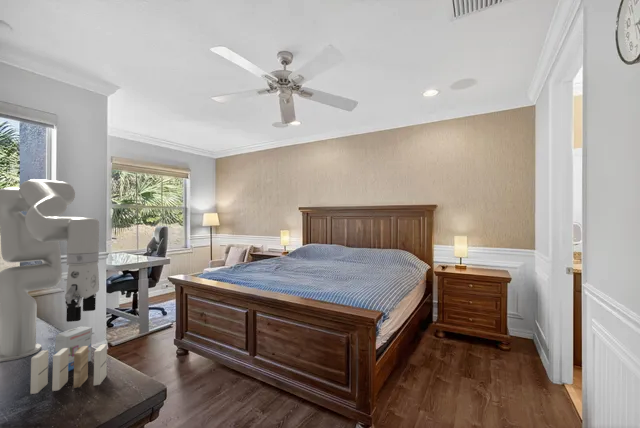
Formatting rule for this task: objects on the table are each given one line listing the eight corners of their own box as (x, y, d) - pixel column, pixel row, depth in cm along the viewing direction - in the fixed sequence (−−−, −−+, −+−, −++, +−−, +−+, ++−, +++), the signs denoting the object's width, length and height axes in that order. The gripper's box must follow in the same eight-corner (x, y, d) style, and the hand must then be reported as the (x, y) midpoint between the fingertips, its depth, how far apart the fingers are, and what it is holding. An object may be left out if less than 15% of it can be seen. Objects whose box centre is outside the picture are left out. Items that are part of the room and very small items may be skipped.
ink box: (66, 373, 94) (67, 335, 94) (53, 371, 95) (54, 334, 95) (91, 360, 103) (92, 326, 103) (80, 359, 104) (80, 325, 104)
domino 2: (52, 391, 84) (53, 355, 85) (61, 381, 89) (62, 348, 89) (59, 390, 85) (59, 355, 85) (67, 381, 90) (68, 347, 90)
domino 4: (93, 385, 88) (94, 351, 88) (100, 376, 92) (101, 344, 92) (99, 384, 88) (100, 350, 88) (106, 376, 93) (107, 344, 93)
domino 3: (87, 378, 91) (88, 345, 92) (80, 387, 87) (80, 352, 87) (81, 379, 91) (82, 346, 91) (73, 388, 86) (74, 353, 86)
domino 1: (30, 394, 83) (31, 358, 83) (40, 384, 88) (41, 350, 88) (37, 393, 83) (38, 357, 84) (47, 383, 88) (48, 349, 88)
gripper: (84, 262, 82) (83, 324, 82) (108, 254, 99) (107, 306, 98) (51, 263, 80) (49, 327, 80) (81, 255, 96) (80, 308, 96)
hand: (81, 315), depth 89 cm, fingers open, 9 cm apart
